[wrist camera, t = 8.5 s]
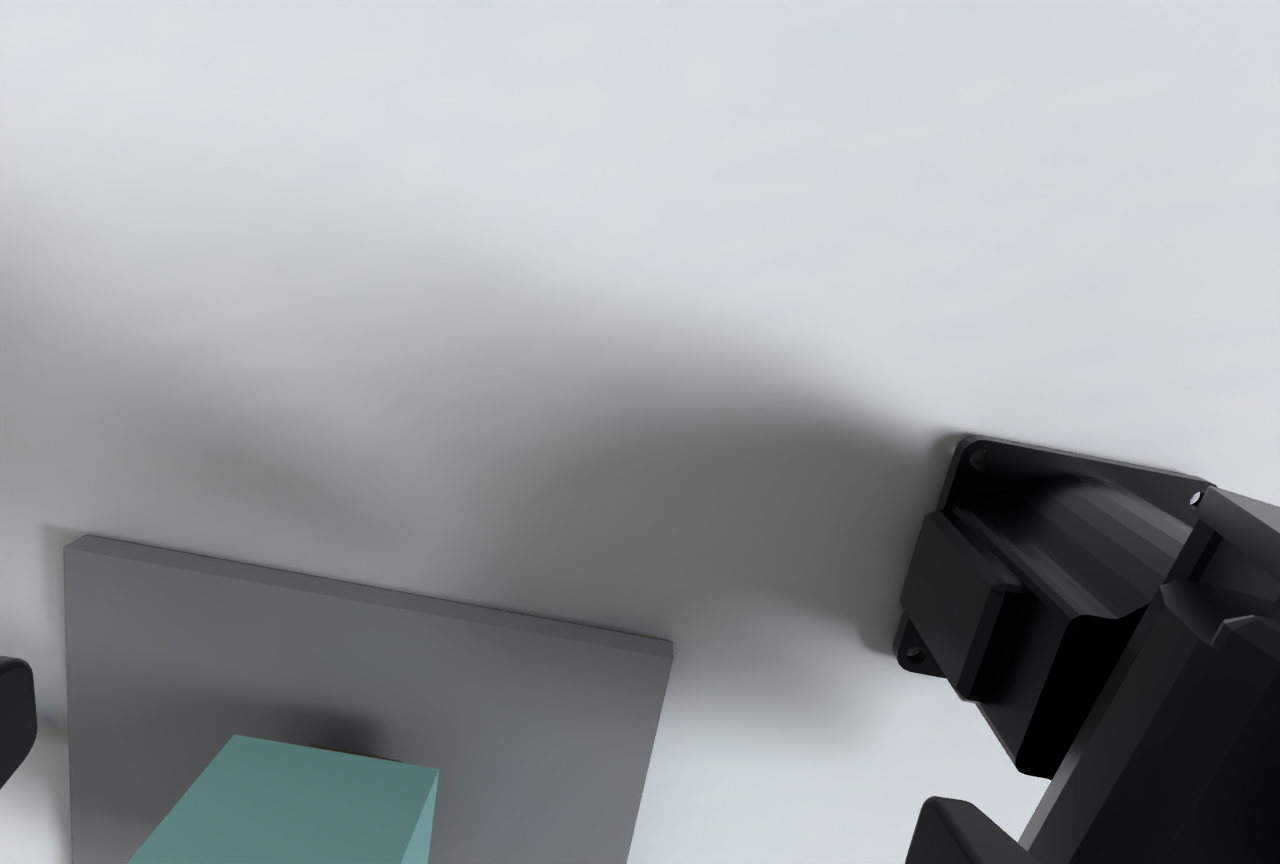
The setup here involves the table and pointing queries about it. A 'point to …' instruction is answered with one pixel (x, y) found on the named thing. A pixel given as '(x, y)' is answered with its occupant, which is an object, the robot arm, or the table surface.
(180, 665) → the slate board
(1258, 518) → the robot arm
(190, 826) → the teal rimmed cube
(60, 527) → the table surface
